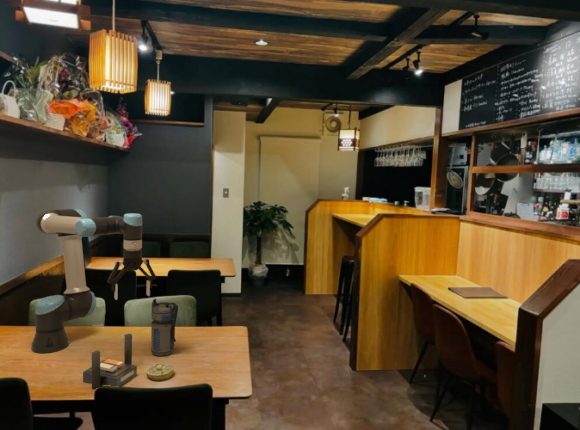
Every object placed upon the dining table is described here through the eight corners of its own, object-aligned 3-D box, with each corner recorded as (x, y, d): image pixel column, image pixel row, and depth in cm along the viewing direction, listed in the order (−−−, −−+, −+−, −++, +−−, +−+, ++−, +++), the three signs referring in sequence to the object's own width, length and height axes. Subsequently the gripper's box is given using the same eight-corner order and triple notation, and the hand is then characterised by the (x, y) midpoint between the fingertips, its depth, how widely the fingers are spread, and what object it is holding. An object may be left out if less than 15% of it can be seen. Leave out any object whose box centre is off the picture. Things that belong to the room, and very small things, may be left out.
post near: (89, 388, 160) (89, 353, 159) (95, 385, 163) (95, 350, 162) (96, 390, 159) (96, 354, 158) (102, 386, 162) (101, 351, 161)
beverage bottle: (170, 359, 188) (171, 305, 186) (145, 354, 192) (145, 301, 190) (182, 350, 198) (183, 299, 196) (158, 346, 202) (158, 296, 199)
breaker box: (82, 381, 165) (82, 369, 165) (104, 368, 177) (104, 357, 176) (117, 388, 161) (117, 376, 160) (137, 375, 172) (137, 363, 172)
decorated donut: (156, 368, 179) (156, 360, 179) (178, 372, 176) (178, 364, 176) (140, 379, 169) (141, 370, 169) (163, 384, 166) (163, 374, 166)
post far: (122, 367, 178) (122, 336, 177) (127, 365, 181) (127, 333, 180) (128, 369, 177) (128, 337, 176) (133, 366, 180) (133, 334, 179)
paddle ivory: (96, 368, 166) (96, 365, 166) (101, 365, 169) (101, 362, 169) (112, 371, 164) (112, 369, 164) (117, 368, 167) (117, 366, 167)
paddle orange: (103, 363, 170) (103, 361, 170) (108, 361, 173) (108, 358, 172) (119, 367, 168) (119, 364, 168) (123, 364, 171) (124, 362, 170)
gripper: (103, 252, 172) (103, 302, 174) (164, 248, 186) (163, 295, 187) (100, 249, 178) (99, 298, 180) (158, 246, 192) (158, 291, 194)
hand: (132, 296), depth 184 cm, fingers open, 13 cm apart
